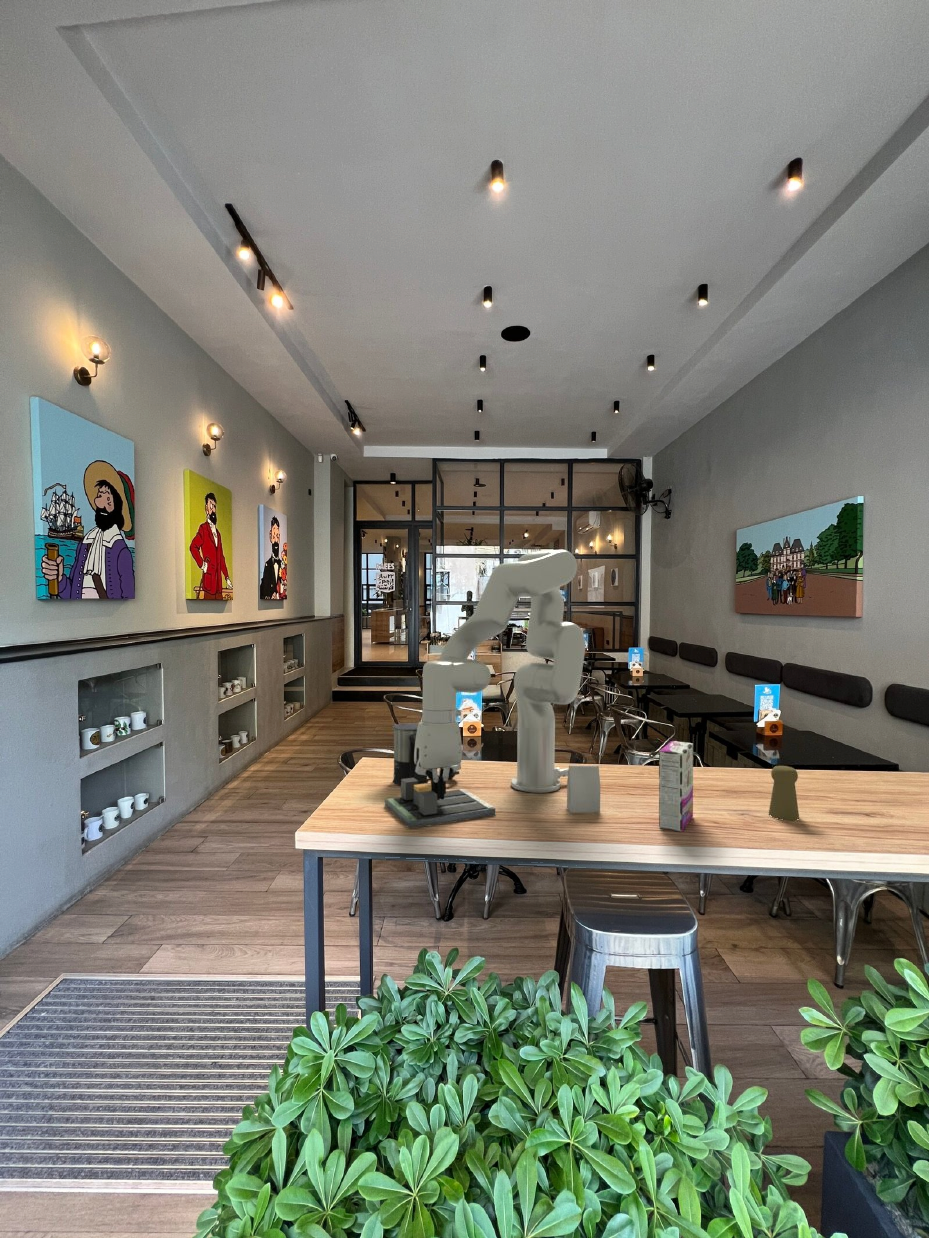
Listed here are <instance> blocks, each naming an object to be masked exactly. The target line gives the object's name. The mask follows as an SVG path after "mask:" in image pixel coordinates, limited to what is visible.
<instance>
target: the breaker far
mask: <svg viewBox="0 0 929 1238" xmlns="http://www.w3.org/2000/svg"><path fill="white" fill-rule="evenodd" d="M417 784H418V781H417V780H416V779H415V778H407V779H401V786H400V793H401V794H400V797H402V798H404V799H405V800H411V799H414V785H417Z"/></svg>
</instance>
